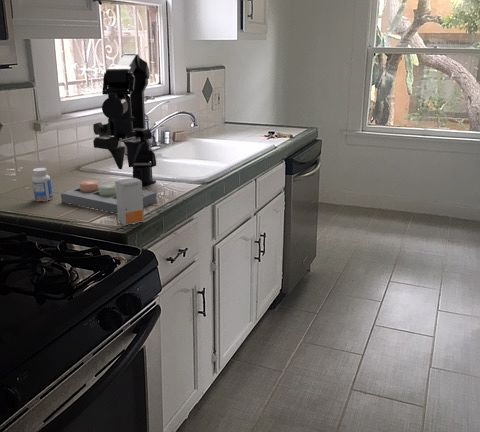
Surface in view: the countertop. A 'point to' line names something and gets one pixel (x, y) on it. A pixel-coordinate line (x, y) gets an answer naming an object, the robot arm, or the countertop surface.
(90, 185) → the button terracotta
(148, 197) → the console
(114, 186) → the button sage
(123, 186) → the skincare box
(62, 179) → the countertop surface
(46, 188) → the pill bottle
